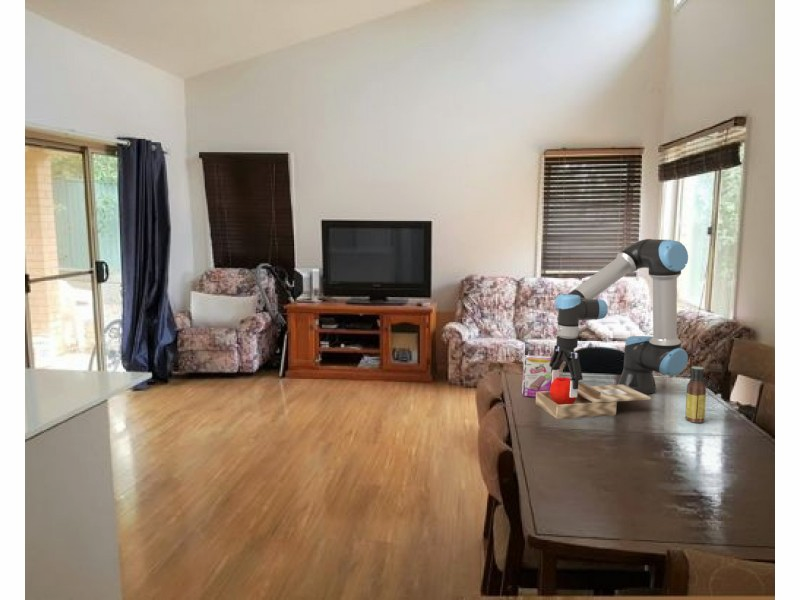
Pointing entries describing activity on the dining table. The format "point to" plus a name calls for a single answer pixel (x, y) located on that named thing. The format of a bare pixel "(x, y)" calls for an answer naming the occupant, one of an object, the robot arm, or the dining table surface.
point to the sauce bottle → (696, 396)
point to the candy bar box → (536, 375)
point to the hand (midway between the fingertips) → (563, 391)
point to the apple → (561, 391)
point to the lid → (609, 393)
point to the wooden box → (574, 407)
